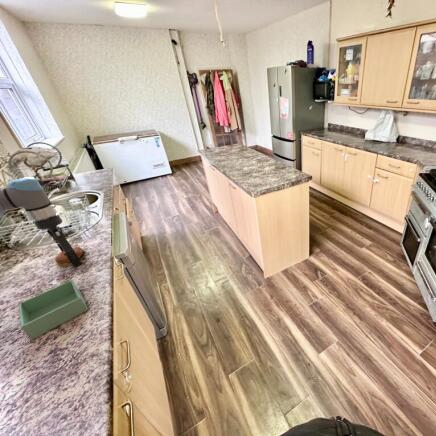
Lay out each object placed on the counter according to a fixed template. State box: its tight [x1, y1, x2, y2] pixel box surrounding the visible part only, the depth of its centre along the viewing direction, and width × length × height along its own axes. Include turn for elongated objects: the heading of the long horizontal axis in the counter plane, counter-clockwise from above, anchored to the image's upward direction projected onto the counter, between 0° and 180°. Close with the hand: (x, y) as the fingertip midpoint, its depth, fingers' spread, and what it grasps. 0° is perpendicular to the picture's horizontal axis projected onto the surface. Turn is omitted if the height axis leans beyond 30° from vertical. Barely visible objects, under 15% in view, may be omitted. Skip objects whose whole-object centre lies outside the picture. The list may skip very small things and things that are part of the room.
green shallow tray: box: [18, 279, 89, 340], centre depth 75 cm, size 14×14×6 cm
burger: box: [54, 246, 87, 268], centre depth 101 cm, size 10×9×5 cm
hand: (73, 259), depth 102 cm, fingers open, 12 cm apart
